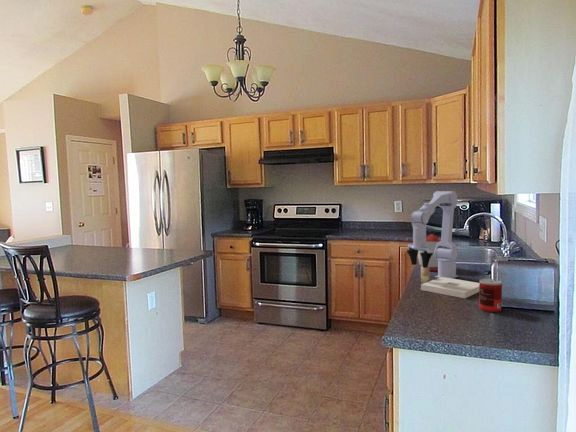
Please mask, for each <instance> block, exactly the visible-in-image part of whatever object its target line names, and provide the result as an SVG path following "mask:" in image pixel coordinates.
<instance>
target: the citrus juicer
mask: <svg viewBox="0 0 576 432" xmlns="http://www.w3.org/2000/svg"><path fill="white" fill-rule="evenodd" d="M440 241H441V237H439V238H438V237H437V236H436V235H435V234H433V233H431V234H429V235H428V236H426V247H429V248H432V253H433V255H432V256H431V258H430V260H429V263H428V266H429V267H430V271H435V272H438V260H437V258H436V257H435V255H434V251H435V248H436V244H437V243H438V242H440ZM442 247H447V246H442ZM422 252H423V251H418V255H417V260H418V264H419V266H420V268H421V266H423V265H422V257H421V254H420V253H422Z"/></svg>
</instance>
